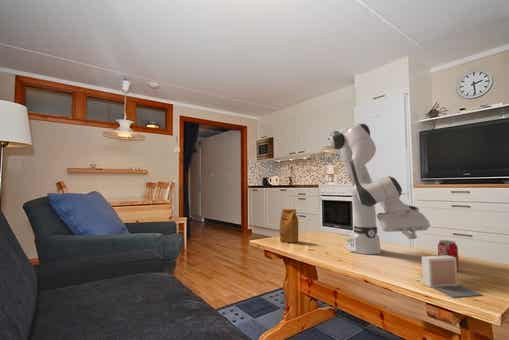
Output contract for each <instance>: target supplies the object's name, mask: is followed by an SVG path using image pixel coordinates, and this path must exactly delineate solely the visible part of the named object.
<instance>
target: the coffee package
mask: <svg viewBox="0 0 509 340" xmlns="http://www.w3.org/2000/svg"><path fill="white" fill-rule="evenodd" d="M278 232H279V241H280V240H281V241H280V242H282V241H285V242H290V243H289V244H293V243H296V242H299V218H298V215H297V209H294V208H292V209H287V208H283V209H282V212H281V216H280V220H279V231H278ZM285 242H284V243H285Z"/></svg>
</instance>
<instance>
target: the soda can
mask: <svg viewBox="0 0 509 340" xmlns="http://www.w3.org/2000/svg"><path fill="white" fill-rule="evenodd" d="M458 249H459V248H458V245H457V244H456V241H454V240H448V239H447V240H445V239H443V240H442V239H441V240H439V242H438V244H437V253H438V254H437V256H443V255H449V256H452V257H455V258H456V266H457V271H458V270H459V269H460V268H459V267H460V264H459V261H460V260H459V250H458Z"/></svg>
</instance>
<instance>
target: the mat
mask: <svg viewBox="0 0 509 340" xmlns="http://www.w3.org/2000/svg"><path fill="white" fill-rule="evenodd" d="M432 288H433V289H434V290H435V291H438V292H440V293H443V294H444V295H446V296H449V297H451V298H452V299H453V298H465V297H467V298H470V297H479V296H480V297H481V296H482V297H483V294H482V293H479V292H478V291H477V292H476V291H475V290H473V289H470V288H467V287H465V286H462V285H456V286H440V287H432Z"/></svg>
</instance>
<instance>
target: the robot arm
mask: <svg viewBox="0 0 509 340" xmlns="http://www.w3.org/2000/svg"><path fill="white" fill-rule="evenodd" d="M329 143H330V145H331V146H332V148H333V149H335V150H340V157H341V160H342V163H343V166H344V169H345V171H346V172H345V173H346V175H347V177H348V179H349V181H350V183H351V185H352V186H351V187H352V189H351V194H352V203H353V204H352V205H353V209H354V211H353V212H354V225H353V232H352V233H351V234H350V235H349V236H348V238H347V239H346V240H347V243H346V244H344V245H343V247H344V248H346V250H348V251H349V252H350V253H356V254H363V255H378V254H381V253H382V252H383V250H384V249H383V248H382V247H381V242H380V241H381V239H380V236H379V235H378V226H377V219H378V221H379V224H380V227H381V230H382V231H383V232H385V233H388V232H389V233H391V232H392V233H394V232H401V233H402V234H403V235H405V236H406V237H407V239H408V240H416V239H417V238H418V236H417V234H416V231H419V232H420V231H421V232H422V231H427V230H428V229H429V228H430V225H431V224H430V221H429V220H428V218H427V217H426V216H425V215H424V214H423V213H422V212H421V211H420V208H419V207H418V206H414V205H409V204H406V203H404V202H403V201H402V200H401V196H402V192H403V188H402V186H401V184H400V183H399V181H398V180H397V179H396V178H395V177H393V176H390V175H389V176H385V177H382V178H379V179H377V180H375V181H372V178H371V176H370V173H369V170H368V168H367V166H366V165H367V164H368V163H369V162H370V161H371V160H372V159H373V158H374V157H375V155H376V152H377V147H376V144H375V142H374V140H373V139H372V137H371V130H370V128H369V125H367V124H366V123H358V124H355V125H354V124H353V125H350V126H347V127H343V128H341V129H338V130H335V131H333V132H331V133H330V136H329ZM378 203H379V204H380V206H381V207H382V208H383V211H384V212H379V213H377V214H376V207H375V206H376V205H377V204H378Z"/></svg>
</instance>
